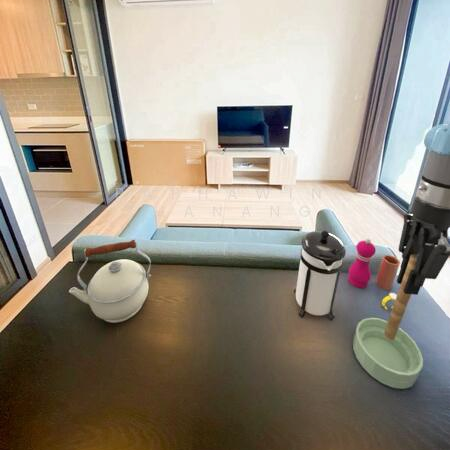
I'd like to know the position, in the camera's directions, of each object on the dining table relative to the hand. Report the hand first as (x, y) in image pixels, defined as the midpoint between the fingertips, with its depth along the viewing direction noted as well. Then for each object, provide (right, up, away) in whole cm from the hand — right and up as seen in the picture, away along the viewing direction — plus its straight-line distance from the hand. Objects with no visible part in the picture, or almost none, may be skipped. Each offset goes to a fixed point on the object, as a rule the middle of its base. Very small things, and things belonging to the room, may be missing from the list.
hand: (406, 287), depth 59 cm
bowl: (0, -24, +9) cm, 26 cm away
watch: (+12, -19, +24) cm, 33 cm away
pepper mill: (+7, -15, +35) cm, 38 cm away
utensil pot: (+16, -15, +33) cm, 40 cm away
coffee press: (-14, -18, +26) cm, 35 cm away
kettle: (-81, -18, +25) cm, 87 cm away
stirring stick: (0, -16, +6) cm, 17 cm away
